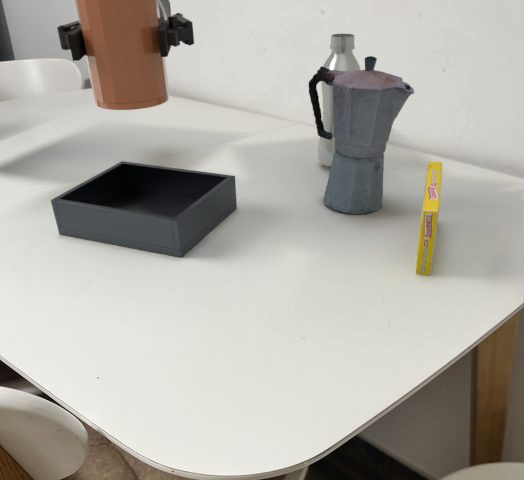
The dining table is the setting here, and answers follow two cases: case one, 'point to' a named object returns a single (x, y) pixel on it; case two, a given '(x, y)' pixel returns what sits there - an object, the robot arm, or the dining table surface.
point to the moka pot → (359, 133)
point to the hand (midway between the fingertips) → (118, 45)
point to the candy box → (429, 219)
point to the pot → (123, 53)
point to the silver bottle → (339, 61)
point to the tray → (146, 207)
